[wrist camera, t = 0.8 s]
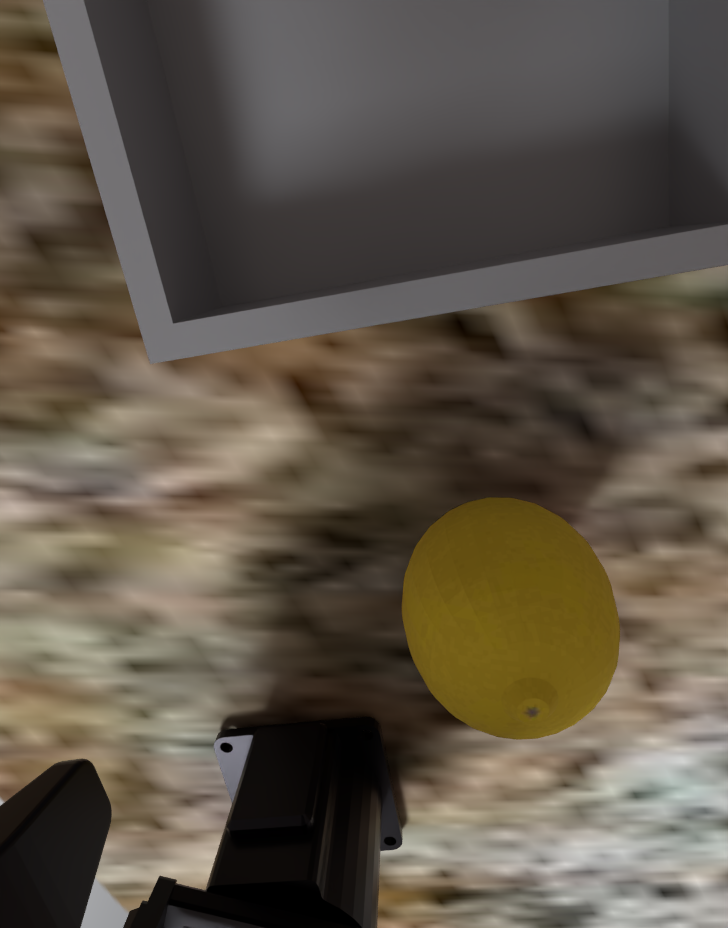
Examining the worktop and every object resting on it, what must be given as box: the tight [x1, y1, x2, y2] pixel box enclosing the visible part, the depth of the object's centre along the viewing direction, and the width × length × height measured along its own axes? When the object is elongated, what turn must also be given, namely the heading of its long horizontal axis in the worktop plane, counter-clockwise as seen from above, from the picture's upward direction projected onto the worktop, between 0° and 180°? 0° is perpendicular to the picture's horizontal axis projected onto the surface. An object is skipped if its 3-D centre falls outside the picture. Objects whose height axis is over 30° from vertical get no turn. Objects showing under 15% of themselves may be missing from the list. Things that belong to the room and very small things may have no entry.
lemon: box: [402, 497, 620, 740], centre depth 16 cm, size 6×6×8 cm
